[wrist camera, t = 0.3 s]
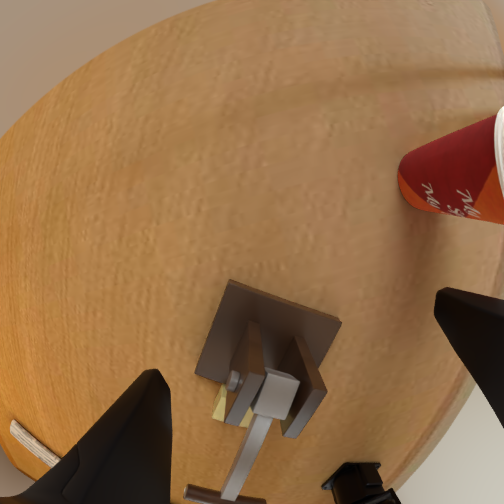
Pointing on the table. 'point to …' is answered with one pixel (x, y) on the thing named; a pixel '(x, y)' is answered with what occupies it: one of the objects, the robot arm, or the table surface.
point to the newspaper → (33, 444)
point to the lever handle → (251, 440)
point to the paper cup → (459, 172)
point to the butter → (220, 408)
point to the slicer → (266, 351)
